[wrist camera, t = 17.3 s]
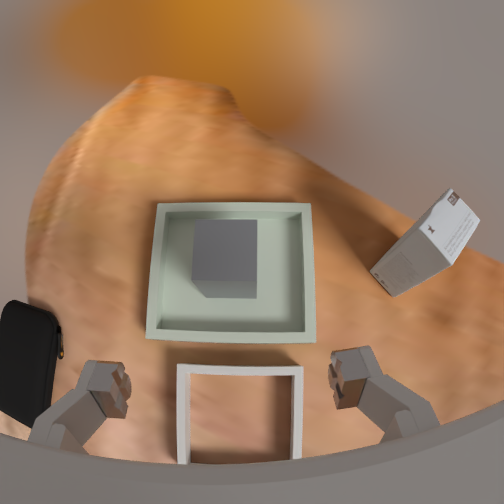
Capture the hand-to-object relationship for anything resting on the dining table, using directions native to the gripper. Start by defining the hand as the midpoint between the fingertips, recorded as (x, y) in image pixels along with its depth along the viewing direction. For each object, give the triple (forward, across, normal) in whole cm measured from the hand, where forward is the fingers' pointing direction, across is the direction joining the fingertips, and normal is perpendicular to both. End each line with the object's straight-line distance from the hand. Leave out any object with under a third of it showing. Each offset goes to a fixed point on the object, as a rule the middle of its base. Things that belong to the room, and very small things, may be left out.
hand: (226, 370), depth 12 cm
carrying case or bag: (+14, +25, +16) cm, 33 cm away
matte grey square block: (+20, 0, +8) cm, 21 cm away
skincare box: (+20, -18, +9) cm, 28 cm away
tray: (+20, 0, +8) cm, 22 cm away
